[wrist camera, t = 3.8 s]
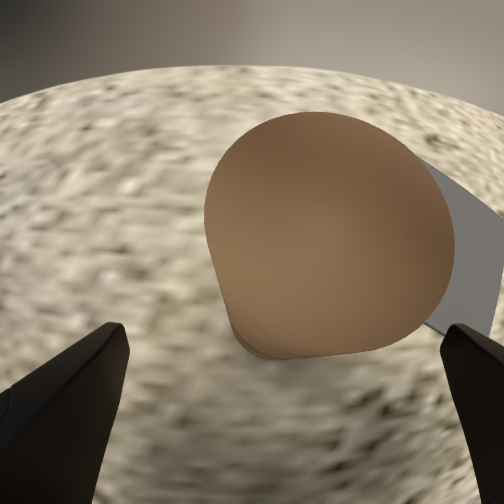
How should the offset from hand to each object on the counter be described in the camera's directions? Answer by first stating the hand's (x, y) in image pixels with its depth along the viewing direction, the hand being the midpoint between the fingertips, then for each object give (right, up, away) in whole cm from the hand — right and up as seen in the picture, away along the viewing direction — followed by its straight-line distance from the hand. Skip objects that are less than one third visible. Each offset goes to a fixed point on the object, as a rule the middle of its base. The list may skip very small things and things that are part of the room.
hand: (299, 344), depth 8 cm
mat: (+13, +3, +11) cm, 17 cm away
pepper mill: (0, -1, +10) cm, 10 cm away
